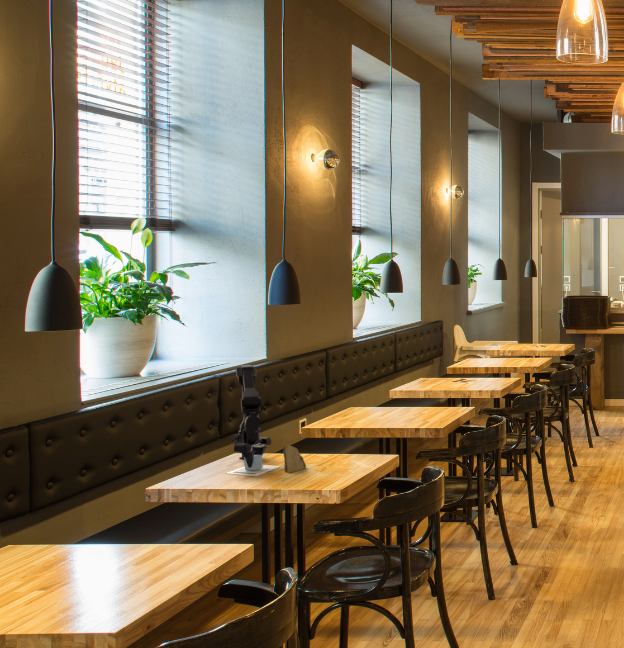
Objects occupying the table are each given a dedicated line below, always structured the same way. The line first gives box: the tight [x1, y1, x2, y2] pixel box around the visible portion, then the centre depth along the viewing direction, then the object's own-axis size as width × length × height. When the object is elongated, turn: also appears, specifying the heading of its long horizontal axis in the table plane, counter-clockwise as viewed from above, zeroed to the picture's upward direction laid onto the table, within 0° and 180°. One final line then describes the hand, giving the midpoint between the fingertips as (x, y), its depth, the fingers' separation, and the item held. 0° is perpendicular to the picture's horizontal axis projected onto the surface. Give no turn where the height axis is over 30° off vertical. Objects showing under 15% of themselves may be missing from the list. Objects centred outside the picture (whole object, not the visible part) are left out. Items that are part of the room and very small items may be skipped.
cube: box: [243, 455, 263, 470], centre depth 317 cm, size 5×5×5 cm
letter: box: [225, 464, 282, 477], centre depth 317 cm, size 18×14×1 cm
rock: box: [283, 444, 307, 474], centre depth 314 cm, size 11×9×10 cm
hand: (253, 466), depth 317 cm, fingers closed on cube, 5 cm apart
